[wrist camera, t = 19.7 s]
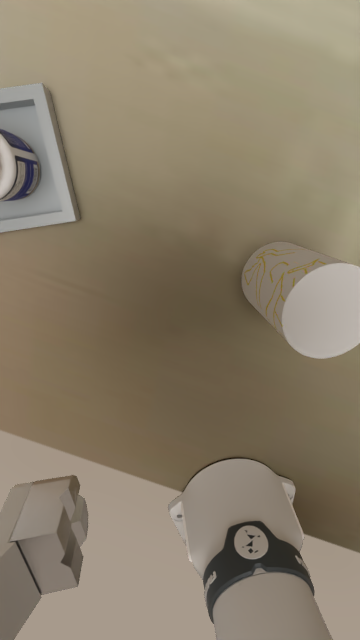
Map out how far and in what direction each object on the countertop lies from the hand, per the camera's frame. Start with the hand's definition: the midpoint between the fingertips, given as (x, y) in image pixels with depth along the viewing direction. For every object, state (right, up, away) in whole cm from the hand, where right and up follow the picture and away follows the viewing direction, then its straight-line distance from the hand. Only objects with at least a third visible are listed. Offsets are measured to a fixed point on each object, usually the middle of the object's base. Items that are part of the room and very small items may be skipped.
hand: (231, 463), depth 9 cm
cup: (+10, +9, +29) cm, 32 cm away
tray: (-18, +18, +23) cm, 34 cm away
